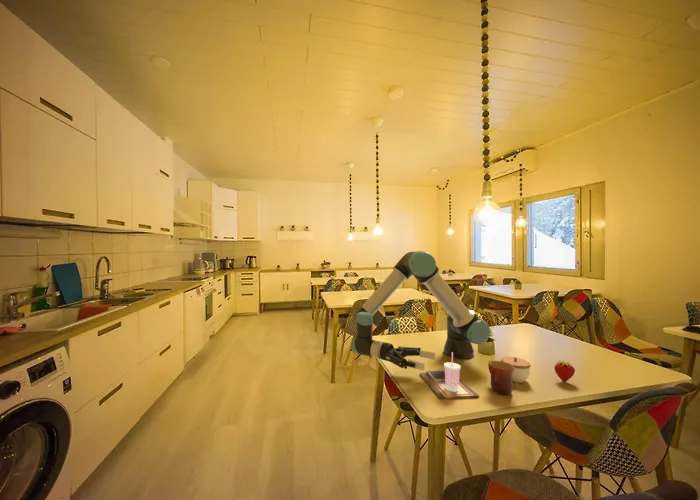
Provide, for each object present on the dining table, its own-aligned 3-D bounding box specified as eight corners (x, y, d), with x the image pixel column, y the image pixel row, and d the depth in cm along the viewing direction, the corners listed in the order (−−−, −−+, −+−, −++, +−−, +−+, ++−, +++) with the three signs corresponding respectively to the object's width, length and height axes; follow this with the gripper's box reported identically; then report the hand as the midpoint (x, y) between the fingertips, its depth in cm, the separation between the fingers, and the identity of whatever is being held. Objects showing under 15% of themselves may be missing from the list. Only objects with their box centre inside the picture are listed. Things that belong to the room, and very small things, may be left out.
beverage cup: (463, 388, 107) (463, 352, 107) (456, 394, 102) (457, 356, 102) (447, 383, 111) (447, 348, 111) (441, 388, 106) (441, 352, 107)
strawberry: (579, 385, 113) (579, 360, 113) (561, 385, 112) (561, 360, 112) (567, 378, 119) (566, 355, 119) (550, 379, 118) (550, 355, 118)
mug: (520, 396, 103) (519, 369, 103) (497, 397, 102) (497, 369, 102) (499, 382, 115) (499, 357, 115) (479, 382, 114) (479, 357, 114)
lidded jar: (530, 387, 110) (530, 364, 110) (500, 381, 116) (500, 358, 116) (530, 377, 119) (530, 356, 119) (501, 372, 125) (501, 351, 125)
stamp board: (452, 373, 123) (452, 369, 123) (478, 397, 102) (479, 392, 102) (419, 374, 121) (419, 370, 121) (439, 399, 100) (439, 394, 100)
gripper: (394, 351, 134) (438, 361, 122) (368, 368, 113) (418, 382, 101) (394, 335, 134) (438, 344, 122) (368, 349, 113) (418, 361, 101)
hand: (429, 361), depth 112 cm, fingers open, 13 cm apart
